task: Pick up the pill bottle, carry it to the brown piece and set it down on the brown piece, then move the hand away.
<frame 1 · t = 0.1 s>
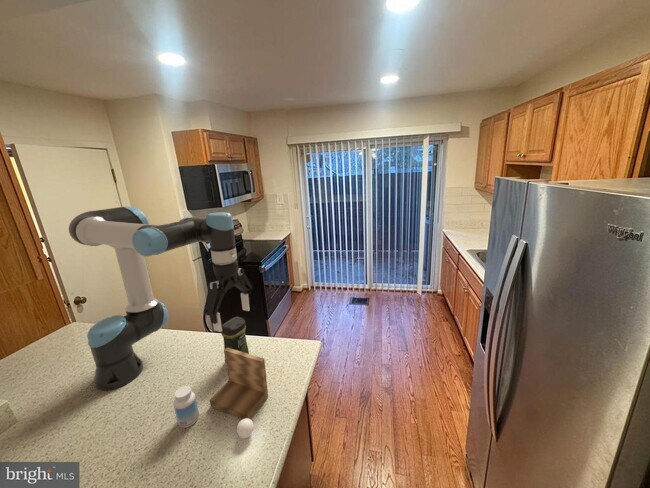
hand: (233, 319, 89), 28 cm above the worktop, fingers open, 13 cm apart
coffee jar: (237, 360, 110), on the worktop
pill bottle: (188, 419, 84), on the worktop
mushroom: (246, 435, 79), on the worktop
brown piece: (248, 391, 94), on the worktop
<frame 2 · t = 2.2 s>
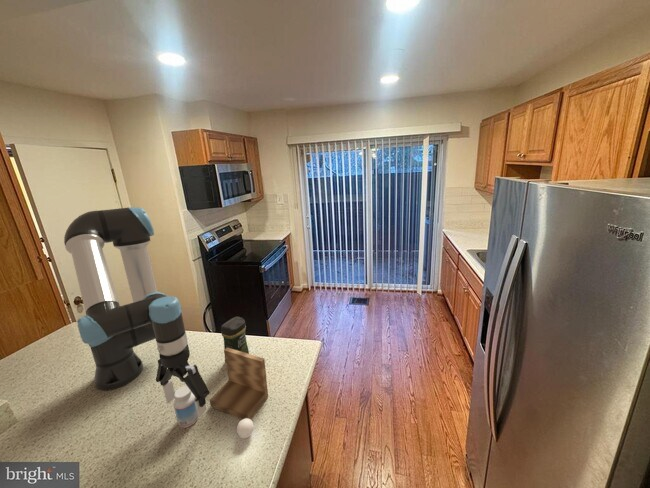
hand: (186, 406, 82), 6 cm above the worktop, fingers open, 13 cm apart
nothing on the worktop moved.
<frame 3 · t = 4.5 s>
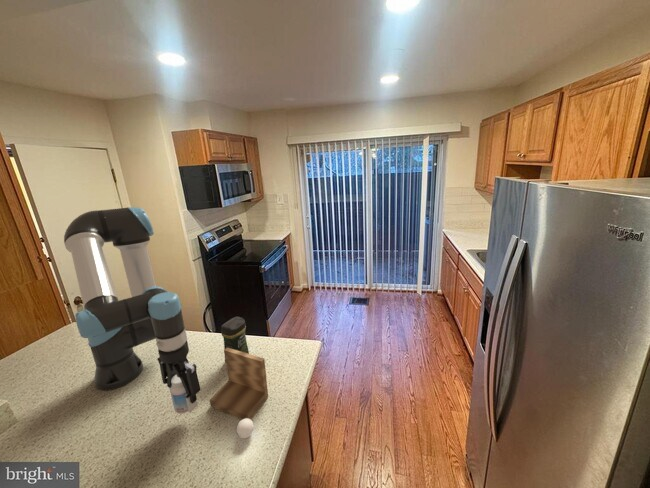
hand: (185, 405, 83), 5 cm above the worktop, fingers closed on pill bottle, 6 cm apart
pill bottle: (185, 406, 83), point 5 cm above the worktop, touching gripper
everything else where it was.
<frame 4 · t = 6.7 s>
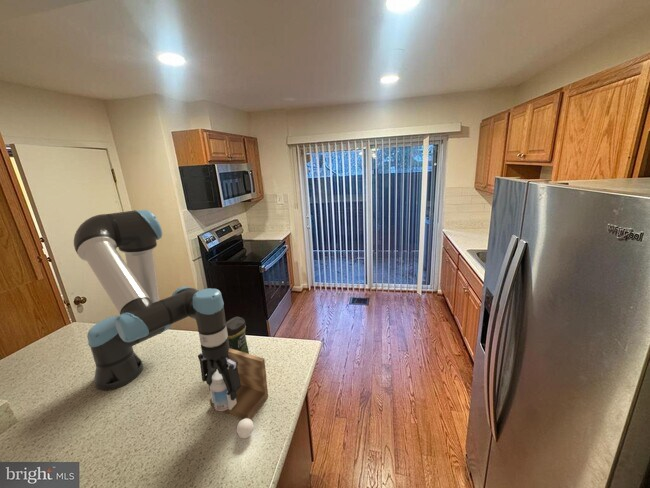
hand: (224, 402, 83), 6 cm above the worktop, fingers closed on pill bottle, 6 cm apart
pill bottle: (224, 403, 83), point 5 cm above the worktop, touching gripper
everything else where it was.
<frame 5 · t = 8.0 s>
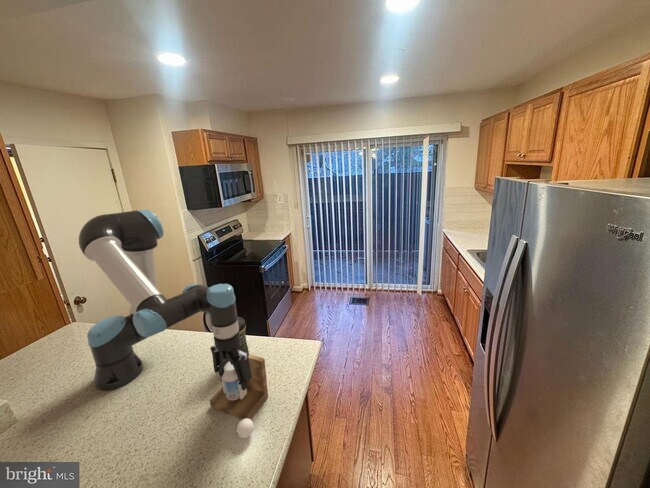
hand: (235, 392, 87), 5 cm above the worktop, fingers closed on pill bottle, 6 cm apart
pill bottle: (235, 393, 87), point 5 cm above the worktop, touching gripper
everything else where it was.
when the fingers open (4 cm above the worktop, at t = 8.9 s): pill bottle stays where it is, resting on brown piece.
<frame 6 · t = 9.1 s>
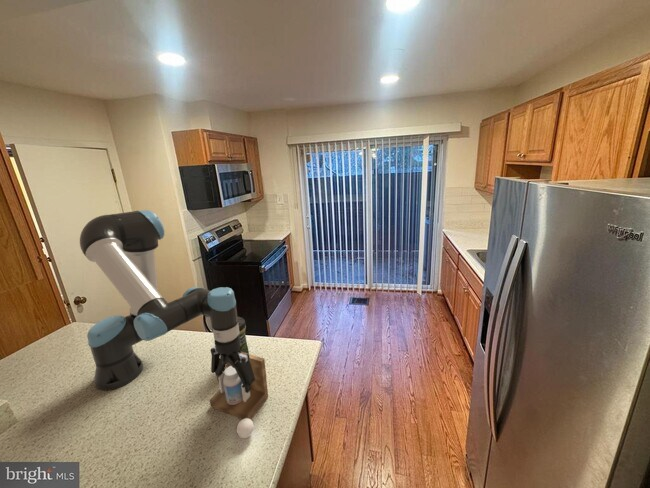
hand: (235, 394, 87), 5 cm above the worktop, fingers open, 9 cm apart
pill bottle: (235, 398, 88), point 3 cm above the worktop, touching brown piece
everything else where it was.
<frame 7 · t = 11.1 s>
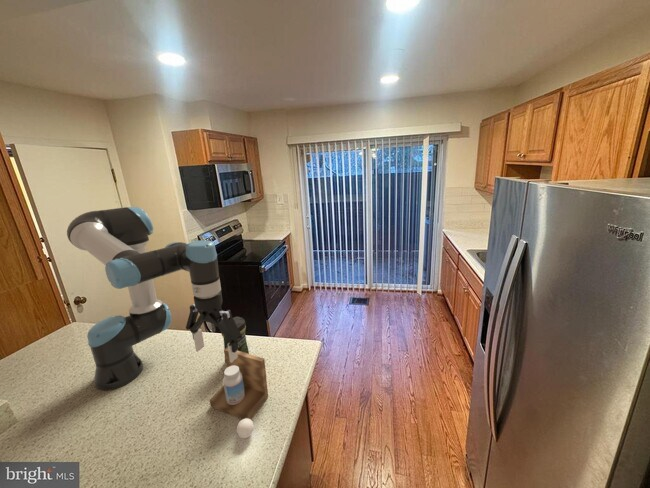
hand: (216, 354, 82), 21 cm above the worktop, fingers open, 13 cm apart
nothing on the worktop moved.
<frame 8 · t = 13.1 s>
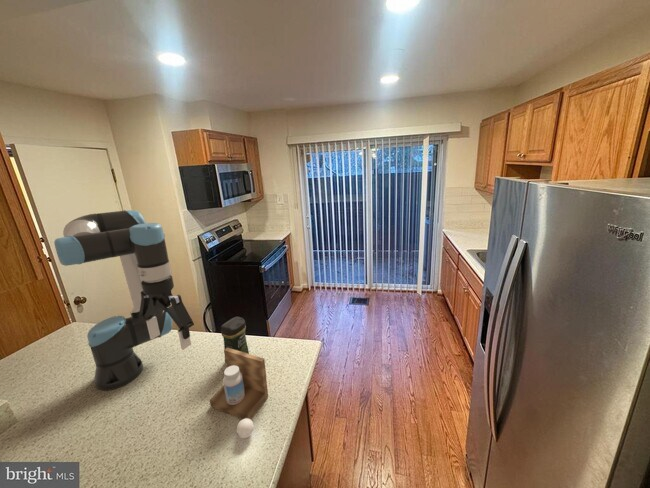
hand: (170, 341, 80), 27 cm above the worktop, fingers open, 13 cm apart
nothing on the worktop moved.
at the end: pill bottle inside the target area on the brown piece (0.5 cm from its centre), point 2.8 cm above the brown piece's base; pill bottle tilted 0°; the gripper is holding nothing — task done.
